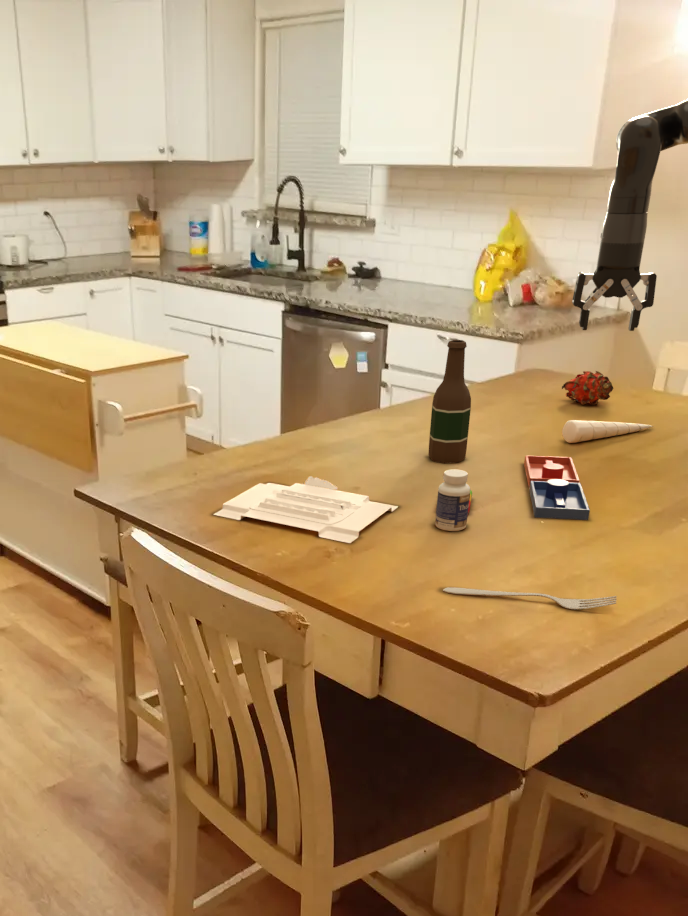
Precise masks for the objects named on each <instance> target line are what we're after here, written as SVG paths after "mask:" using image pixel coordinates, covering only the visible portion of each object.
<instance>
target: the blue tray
mask: <svg viewBox="0 0 688 916" xmlns="http://www.w3.org/2000/svg"><path fill="white" fill-rule="evenodd" d="M546 487H547V482H546V481H530V488H529V489H528V491H529V496H530V501H531V504H532V511H533V516H534V518H538V519H540V518H541V519H561V520H580V521H589V518H590V512H591V509H590V507H589V504H588V501H587V498H586V495H585V492H584V489H583V487H582V483H581V482H579V483H569V486H568V493H567V498H566V499H564V502H565V508H556V507H555V506H554V502H553V500H552V499H548V498H546V497H545V494H546Z"/></svg>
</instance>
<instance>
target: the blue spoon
mask: <svg viewBox="0 0 688 916" xmlns="http://www.w3.org/2000/svg"><path fill="white" fill-rule="evenodd" d="M568 486H569V482H568V481H565V480H561V479H551V480H548V481H547V487H546V494H545V497H546V498H548V499H552V500H553V502H554V506H555V507H556V508H565V502H564V499H566V498H567V493H568Z"/></svg>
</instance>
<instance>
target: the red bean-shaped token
mask: <svg viewBox="0 0 688 916" xmlns="http://www.w3.org/2000/svg"><path fill="white" fill-rule="evenodd" d="M563 469H564V466H563V465H560V464H556V463H553V461H552V460H545V464H544V465H543V470H542V477H541V478H555V479H562V476H563Z"/></svg>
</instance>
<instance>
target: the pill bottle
mask: <svg viewBox="0 0 688 916" xmlns="http://www.w3.org/2000/svg"><path fill="white" fill-rule="evenodd" d="M468 477H469V473H468V472H467V471H466V470H462V469H457V468H453V469H452V468H451V469H446V470H444V472H443V476H442V479H443V482H442V483H440V484H439V486H438V489H437V497H436V498H437V499H436V510H435V523H434V525H435V527H436V528H438V529H440V530H442V531H449V532H459V531H463V530H464V529H466V527H467V524H468V517H469V516H468V515H469V513H468V508H469V499H470V490H471V486H470V485H469V484H468V483H467V482H468Z"/></svg>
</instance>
